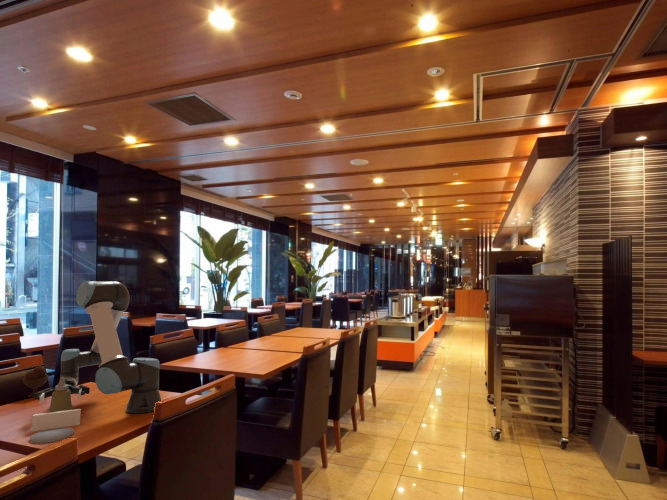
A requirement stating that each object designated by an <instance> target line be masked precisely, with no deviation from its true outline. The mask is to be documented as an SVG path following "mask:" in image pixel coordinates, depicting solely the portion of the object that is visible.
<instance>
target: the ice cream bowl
mask: <svg viewBox="0 0 667 500" xmlns="http://www.w3.org/2000/svg"><path fill="white" fill-rule="evenodd" d="M49 377H50V376H49V375H48V374H47V370H46V367H44V366H41V365H40V366H36V367H34V368H33V369H31V370H29V371H27V373H26V374H25V375H24V377H23V378H22V383H23V384H24V385H25V386H26V387H28V388H30V389H32V393H31V394H29V395H28V398H34V396H35V393H37V392H38V389H39V388H40V387H42V386H43V385H45V384H46V383H47V382H48V380H49Z"/></svg>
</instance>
